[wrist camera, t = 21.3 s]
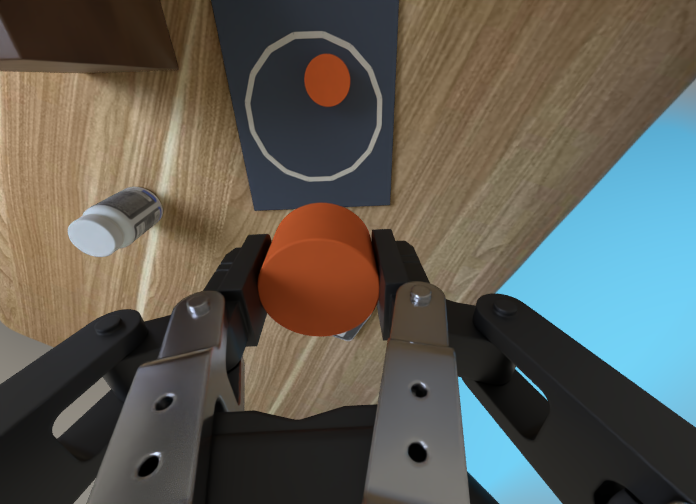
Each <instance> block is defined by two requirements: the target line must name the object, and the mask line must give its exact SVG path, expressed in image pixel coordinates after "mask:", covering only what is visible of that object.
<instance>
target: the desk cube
mask: <svg viewBox="0 0 696 504" xmlns="http://www.w3.org/2000/svg"><path fill="white" fill-rule="evenodd" d="M164 70H178V65H177V61H176V58H175V54H174V51H173V47H172V43H171V40H170V36H169V32H168V29H167V25H166V22H165V18H164V14H163V11H162V7H161V3H160V0H0V71H13V72H50V73H108V72H136V71H164Z"/></svg>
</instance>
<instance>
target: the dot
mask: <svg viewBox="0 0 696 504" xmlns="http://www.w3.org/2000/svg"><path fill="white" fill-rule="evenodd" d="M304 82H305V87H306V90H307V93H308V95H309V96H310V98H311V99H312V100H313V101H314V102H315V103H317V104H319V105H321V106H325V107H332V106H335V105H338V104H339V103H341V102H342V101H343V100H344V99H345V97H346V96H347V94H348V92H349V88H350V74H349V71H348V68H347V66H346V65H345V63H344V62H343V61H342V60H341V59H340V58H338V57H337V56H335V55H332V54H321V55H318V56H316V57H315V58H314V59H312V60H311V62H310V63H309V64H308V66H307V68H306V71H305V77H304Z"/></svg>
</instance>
